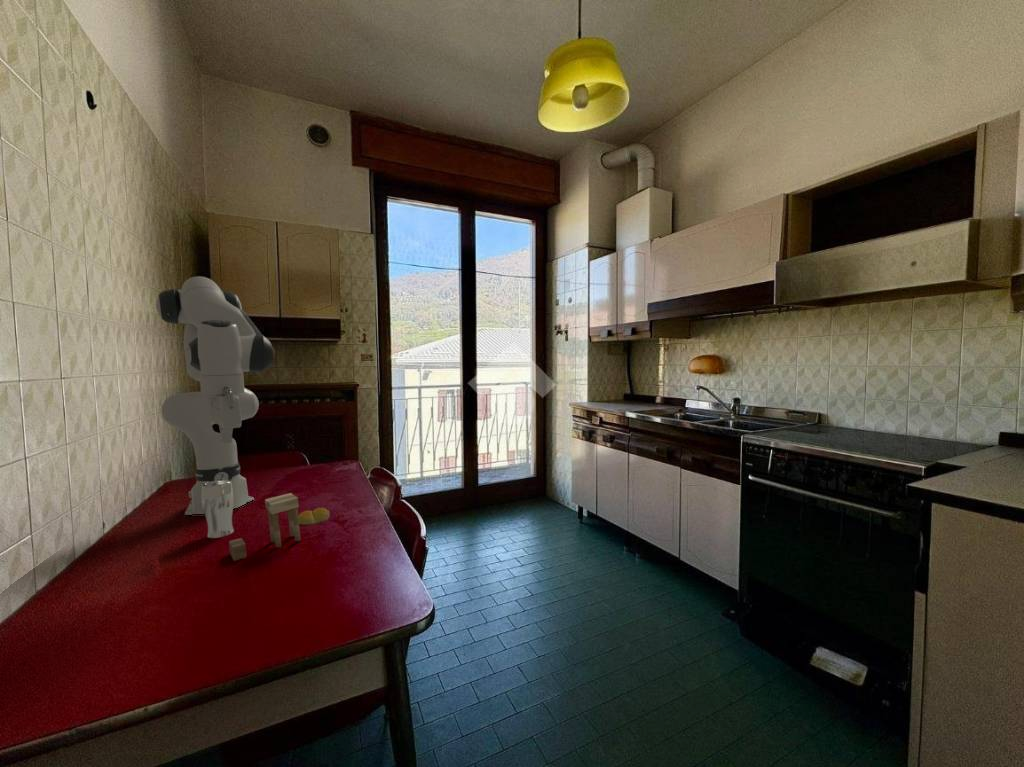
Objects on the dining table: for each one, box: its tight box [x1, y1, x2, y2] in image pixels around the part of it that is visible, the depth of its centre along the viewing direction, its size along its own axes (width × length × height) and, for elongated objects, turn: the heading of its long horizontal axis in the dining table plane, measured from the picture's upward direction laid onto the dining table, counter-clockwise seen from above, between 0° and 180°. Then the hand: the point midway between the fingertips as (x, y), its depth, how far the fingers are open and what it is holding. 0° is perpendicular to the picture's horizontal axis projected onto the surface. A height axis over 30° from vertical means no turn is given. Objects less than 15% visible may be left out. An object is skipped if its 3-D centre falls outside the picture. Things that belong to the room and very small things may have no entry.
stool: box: [264, 492, 302, 549], centre depth 104 cm, size 6×6×11 cm
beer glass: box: [202, 479, 235, 539], centre depth 112 cm, size 7×7×15 cm
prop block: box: [228, 537, 247, 561], centre depth 98 cm, size 5×2×3 cm, turn 43°
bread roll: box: [298, 507, 331, 526], centre depth 120 cm, size 8×9×4 cm
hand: (226, 442), depth 102 cm, fingers closed
